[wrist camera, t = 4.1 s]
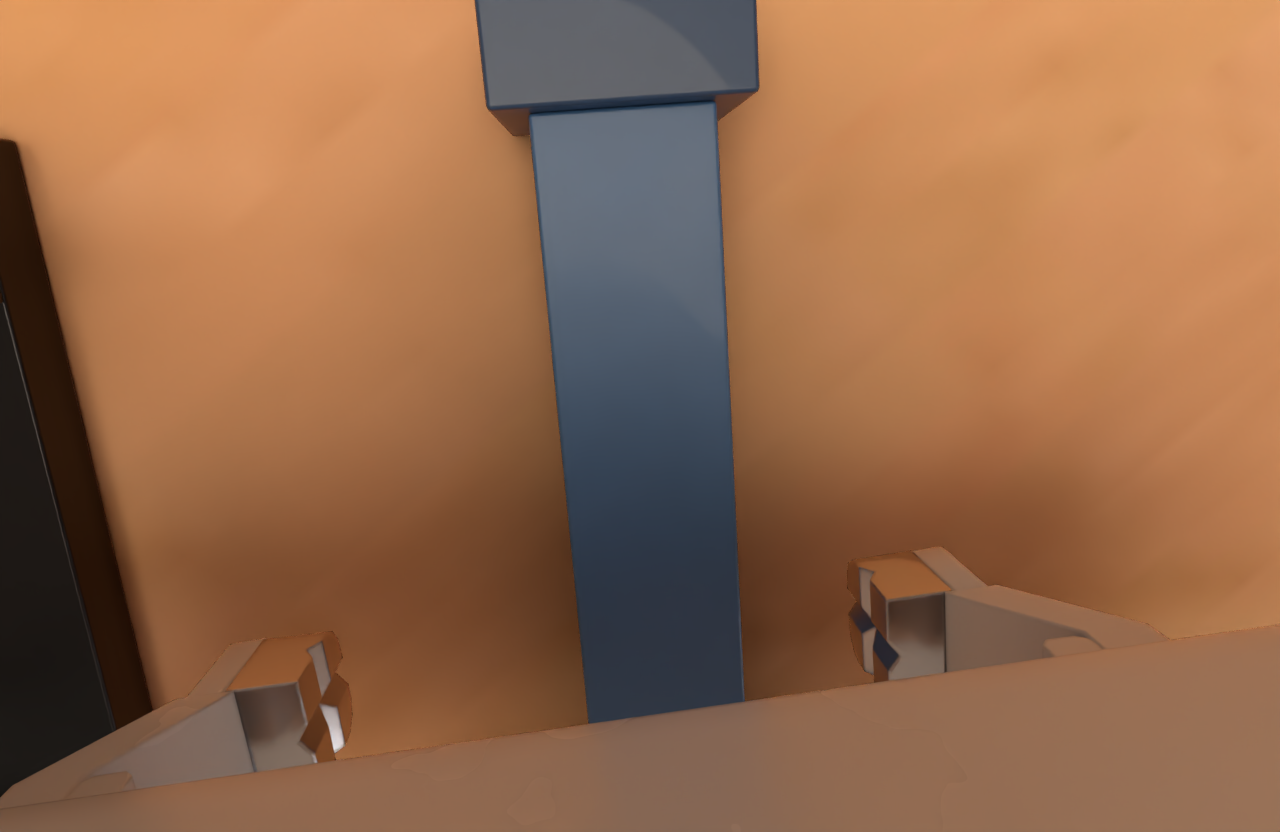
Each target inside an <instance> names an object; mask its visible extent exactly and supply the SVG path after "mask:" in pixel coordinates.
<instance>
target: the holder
mask: <svg viewBox="0 0 1280 832" xmlns="http://www.w3.org/2000/svg"><path fill="white" fill-rule="evenodd" d="M150 712H152V708H151V703H150V699H149V695H148V691H147V687H146V683H145V679H144V675H143V670H142V666H141V662H140V658H139V654H138V650H137V646H136V642H135V637H134V633H133V629H132V625H131V621H130V617H129V613H128V609H127V604H126V600H125V596H124V592H123V588H122V584H121V580H120V576H119V571H118V567H117V563H116V559H115V555H114V551H113V547H112V543H111V538H110V534H109V530H108V526H107V522H106V518H105V514H104V510H103V505H102V501H101V497H100V493H99V489H98V485H97V481H96V477H95V472H94V468H93V464H92V460H91V456H90V452H89V448H88V444H87V439H86V435H85V431H84V427H83V423H82V419H81V415H80V411H79V406H78V402H77V398H76V394H75V390H74V386H73V382H72V378H71V373H70V369H69V365H68V361H67V357H66V353H65V349H64V345H63V340H62V336H61V332H60V328H59V324H58V320H57V316H56V312H55V307H54V303H53V299H52V295H51V291H50V287H49V283H48V278H47V274H46V270H45V266H44V262H43V258H42V254H41V250H40V245H39V241H38V237H37V233H36V229H35V225H34V221H33V217H32V212H31V208H30V204H29V200H28V196H27V192H26V188H25V184H24V179H23V175H22V171H21V167H20V163H19V159H18V155H17V151H16V146H15V143H14V142H13V141H11V140H6V139H0V797H1V796H2V795H3V794H4V793H5V792H6V791H7V790H8V789H9V788H10V787H11V786H12V785H14V784H16V783H18V782H20V781H22V780H24V779H25V778H27V777H29V776H31V775H33V774H35V773H37V772H39V771H41V770H42V769H44V768H46V767H48V766H50V765H52V764H54V763H56V762H58V761H59V760H61V759H63V758H65V757H67V756H69V755H71V754H73V753H75V752H76V751H78V750H80V749H82V748H84V747H86V746H88V745H90V744H92V743H93V742H95V741H97V740H99V739H101V738H103V737H105V736H107V735H109V734H110V733H112V732H114V731H116V730H118V729H120V728H122V727H124V726H126V725H127V724H129V723H131V722H133V721H135V720H137V719H139V718H141V717H143V716H144V715H146V714H148V713H150Z"/></svg>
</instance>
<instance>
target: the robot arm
mask: <svg viewBox="0 0 1280 832" xmlns="http://www.w3.org/2000/svg"><path fill="white" fill-rule="evenodd" d="M847 589H848V590H849V591H850V593H851V594H852V596H853V597H854V598H855V600H856V603H855V604H854V606H853V607H852V609H851V611H850V612H849V626H850V635H851V640H852V644H853V649H854V652H855V655H856V657H857V660H858V662H859V664H860V665H861V667H862V668H863V670H864V671H865V672H867V673H870V674H872V675H874V683H869V684H862V685H855V686H848V687H841V688H834V689H827V690H820V691H813V692H806V693H799V694H792V695H785V696H778V697H771V698H765V699H758V700H751V701H744V702H737V703H730V704H723V705H716V706H709V707H702V708H695V709H688V710H681V711H674V712H668V713H661V714H654V715H647V716H640V717H633V718H626V719H619V720H612V721H605V722H598V723H591V724H584V725H577V726H571V727H564V728H557V729H550V730H543V731H536V732H529V733H522V734H515V735H508V736H501V737H494V738H487V739H480V740H474V741H467V742H460V743H453V744H446V745H439V746H432V747H425V748H418V749H411V750H404V751H397V752H390V753H383V754H377V755H370V756H363V757H356V758H349V759H342V760H336V758H335V753H336V752H337V751H339V750H340V749H341V748H343V747H344V746H345V745H346V743H347V740H348V738H349V735H350V732H351V724H352V715H353V713H352V699H351V694H350V689H349V684H348V683H347V682H346V681H345V680H344V679H343V678H342V677H340V676H339V675H338V674H337V673H336V670H337V668H338V666H339V664H340V662H341V660H342V658H343V657H342V653H341V649H340V645H339V641H338V638H337V636H336V635H335V634H334V633H333V631H329V632H321V633H312V634H304V635H295V636H287V637H279V638H270V639H266V638H262V639H256V640H250V641H244V642H238V643H232V644H230V645H229V646H228V647H227V649H226V650H225V651H224V652H223V653H222V655H221V656H220V657H219V658H218V659H217V661H216V662H215V663H214V664H213V666H212V667H211V668H210V669H209V670H208V672H207V673H206V674H205V675H204V676H203V678H202V679H201V680H200V681H199V683H198V684H197V685H196V686H195V687H194V689H193V690H192V691H191V692H190V694H189V695H188V696H187V697H186V698H179V699H175V700H173V701H171V702H169V703H167V704H165V705H163V706H161V707H159V708H158V709H156V710H154V711H152V712H150V713H148V714H146V715H144V716H143V717H141V718H139V719H137V720H135V721H133V722H131V723H129V724H127V725H126V726H124V727H122V728H120V729H118V730H116V731H114V732H112V733H110V734H109V735H107V736H105V737H103V738H101V739H99V740H97V741H95V742H93V743H92V744H90V745H88V746H86V747H84V748H82V749H80V750H78V751H76V752H75V753H73V754H71V755H69V756H67V757H65V758H63V759H61V760H59V761H58V762H56V763H54V764H52V765H50V766H48V767H46V768H44V769H42V770H41V771H39V772H37V773H35V774H33V775H31V776H29V777H27V778H25V779H24V780H22V781H20V782H18V783H16V784H14V785H12V786H11V787H10V788H9V789H8V790H7V791H6V792H5V793H4V794H3V795H2V796H1V797H0V832H1280V624H1278V625H1271V626H1264V627H1257V628H1250V629H1243V630H1236V631H1229V632H1222V633H1215V634H1208V635H1202V636H1195V637H1188V638H1181V639H1174V640H1170V639H1169V638H1167V637H1166V636H1164V635H1163V634H1162V633H1160V632H1159V631H1157V630H1156V629H1154V628H1153V627H1152V626H1150V625H1149V624H1147V623H1143V622H1139V621H1135V620H1131V619H1127V618H1124V617H1120V616H1116V615H1112V614H1108V613H1104V612H1100V611H1097V610H1093V609H1089V608H1085V607H1081V606H1077V605H1074V604H1070V603H1066V602H1062V601H1058V600H1054V599H1050V598H1047V597H1043V596H1039V595H1035V594H1031V593H1027V592H1023V591H1020V590H1016V589H1012V588H1008V587H1004V586H1000V585H991V586H987V585H986V584H985V583H984V582H983V581H981V580H980V579H979V578H978V577H977V576H976V575H975V574H973V573H972V572H971V571H970V570H969V569H968V568H966V567H965V566H964V565H963V564H962V563H961V562H960V561H958V560H957V559H956V558H955V557H954V556H953V555H952V554H950V553H949V552H948V551H947V550H946V549H945V548H943V547H933V548H927V549H921V550H916V551H911V550H910V551H904V552H898V553H891V554H885V555H879V556H873V557H866V558H860V559H854V560H851V561H850V562H848V565H847Z"/></svg>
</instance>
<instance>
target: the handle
mask: <svg viewBox="0 0 1280 832" xmlns="http://www.w3.org/2000/svg"><path fill="white" fill-rule="evenodd" d="M475 9H476V18H477V27H478V36H479V45H480V54H481V63H482V72H483V81H484V90H485V100H486V106H487V108H488V110H489V111H490V112H491V113H492V114H493V115H494V116H495V117H496V118H497V120H498V121H499V122H500V123H501V124H502V125H503V126H504V127H505V128H506V129H507V130H508V131H509V132H510V133H511V134H512V135H513V136H524V135H530V140H531V150H532V160H533V170H534V180H535V190H536V200H537V210H538V220H539V230H540V240H541V251H542V261H543V271H544V281H545V291H546V301H547V311H548V321H549V331H550V341H551V351H552V361H553V371H554V382H555V392H556V402H557V412H558V422H559V432H560V442H561V452H562V462H563V472H564V482H565V492H566V502H567V513H568V523H569V533H570V543H571V553H572V563H573V573H574V583H575V593H576V603H577V613H578V623H579V633H580V644H581V654H582V664H583V674H584V684H585V694H586V704H587V714H588V724H591V723H598V722H605V721H612V720H619V719H626V718H633V717H640V716H647V715H654V714H661V713H668V712H674V711H681V710H688V709H695V708H702V707H709V706H716V705H723V704H730V703H737V702H744V701H745V693H744V672H743V651H742V630H741V609H740V587H739V566H738V545H737V524H736V503H735V481H734V460H733V439H732V418H731V397H730V376H729V354H728V333H727V312H726V291H725V270H724V248H723V227H722V206H721V185H720V164H719V142H718V121H719V120H720V119H721V118H723V117H724V116H725V115H727V114H728V113H729V112H731V111H732V110H733V109H735V108H736V107H737V106H739V105H740V104H741V103H743V102H744V101H745V100H747V99H748V98H749V97H751V96H752V95H753V94H755V93H756V92H757V91H758V90H759V63H758V34H757V6H756V0H475Z"/></svg>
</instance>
